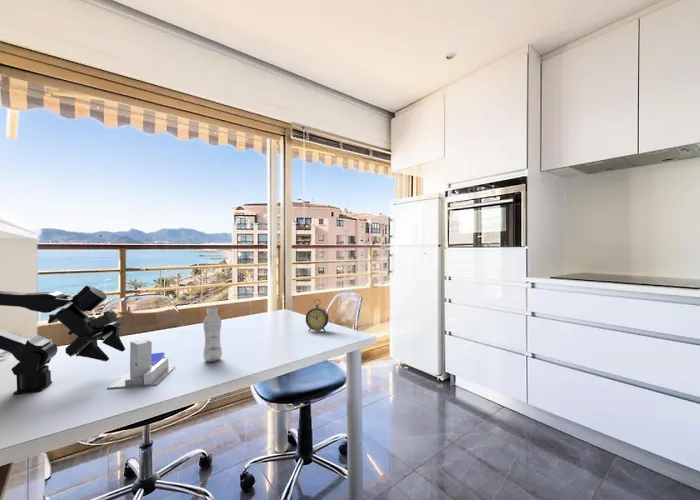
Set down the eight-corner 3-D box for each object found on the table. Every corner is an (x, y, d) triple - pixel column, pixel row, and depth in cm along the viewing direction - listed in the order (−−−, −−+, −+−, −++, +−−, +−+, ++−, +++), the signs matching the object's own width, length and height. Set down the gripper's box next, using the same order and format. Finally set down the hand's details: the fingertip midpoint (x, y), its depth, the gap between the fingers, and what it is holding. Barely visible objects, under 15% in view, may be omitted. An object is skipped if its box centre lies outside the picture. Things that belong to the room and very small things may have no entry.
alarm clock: (305, 332, 152) (305, 299, 152) (308, 329, 158) (308, 297, 157) (326, 333, 151) (326, 300, 150) (329, 330, 156) (329, 298, 156)
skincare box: (129, 377, 101) (128, 341, 101) (144, 372, 105) (143, 337, 105) (137, 382, 98) (136, 344, 97) (152, 377, 101) (152, 340, 101)
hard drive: (159, 362, 110) (164, 352, 121) (131, 365, 107) (140, 354, 118) (159, 366, 110) (164, 356, 121) (131, 370, 107) (140, 359, 118)
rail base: (107, 388, 94) (107, 376, 94) (132, 370, 108) (131, 359, 108) (156, 385, 97) (156, 373, 96) (175, 367, 110) (174, 356, 110)
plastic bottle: (217, 356, 121) (217, 305, 121) (225, 360, 116) (224, 308, 116) (200, 360, 117) (199, 308, 116) (207, 365, 112) (206, 310, 111)
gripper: (76, 310, 89) (118, 346, 91) (115, 298, 108) (149, 329, 110) (46, 338, 88) (89, 374, 90) (90, 321, 107) (125, 352, 109)
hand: (116, 355), depth 100 cm, fingers open, 8 cm apart
